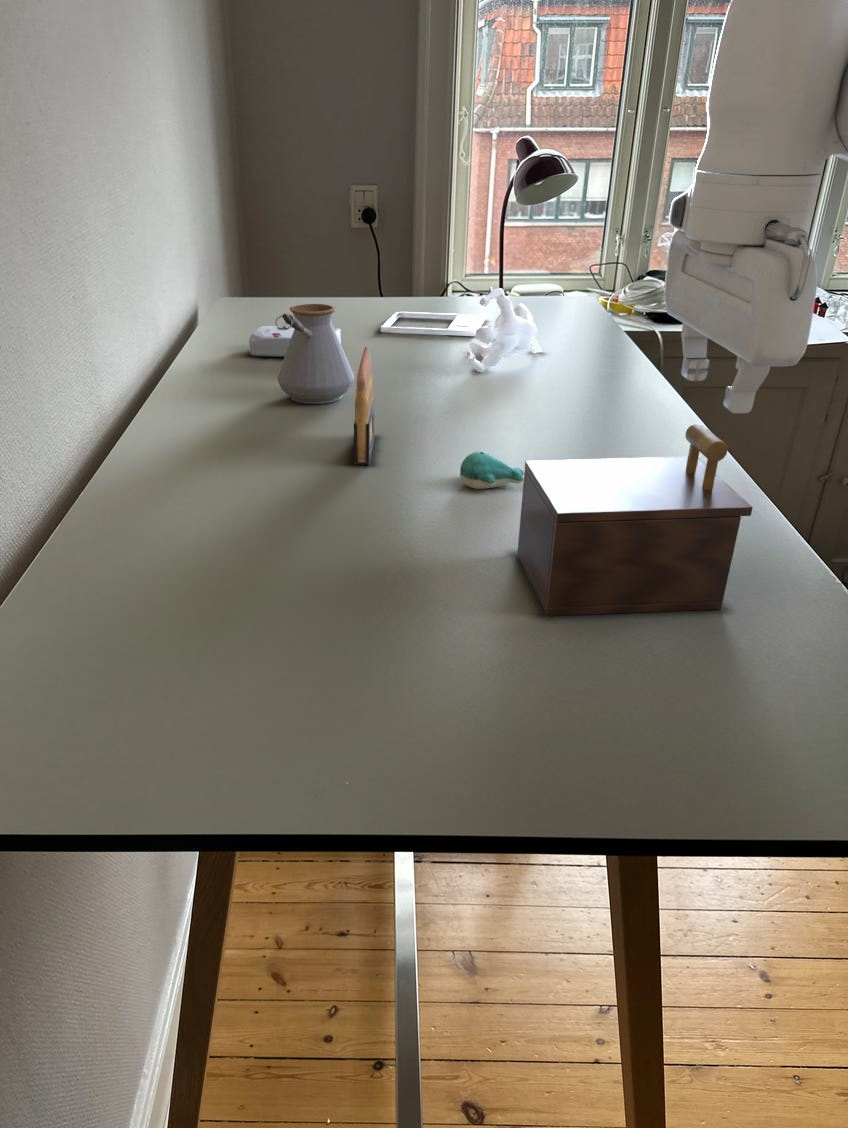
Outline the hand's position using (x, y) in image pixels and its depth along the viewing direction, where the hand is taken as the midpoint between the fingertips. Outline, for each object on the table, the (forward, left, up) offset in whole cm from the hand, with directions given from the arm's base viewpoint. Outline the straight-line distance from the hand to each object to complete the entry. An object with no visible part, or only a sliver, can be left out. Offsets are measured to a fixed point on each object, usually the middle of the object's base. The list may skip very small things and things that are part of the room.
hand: (713, 394), depth 77 cm
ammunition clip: (+27, -38, -18) cm, 50 cm away
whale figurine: (+13, -25, -18) cm, 33 cm away
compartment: (+6, 0, -17) cm, 18 cm away
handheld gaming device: (+36, -90, -18) cm, 99 cm away
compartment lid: (+6, 0, -8) cm, 10 cm away
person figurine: (+1, -79, -18) cm, 81 cm away
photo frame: (+9, -109, -17) cm, 111 cm away
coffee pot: (+34, -58, -18) cm, 70 cm away
